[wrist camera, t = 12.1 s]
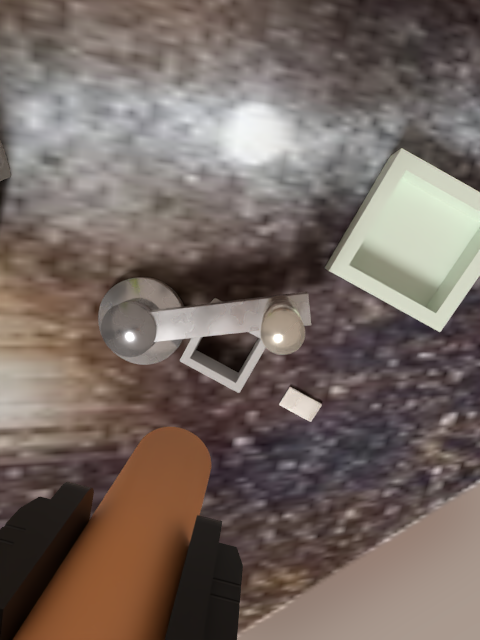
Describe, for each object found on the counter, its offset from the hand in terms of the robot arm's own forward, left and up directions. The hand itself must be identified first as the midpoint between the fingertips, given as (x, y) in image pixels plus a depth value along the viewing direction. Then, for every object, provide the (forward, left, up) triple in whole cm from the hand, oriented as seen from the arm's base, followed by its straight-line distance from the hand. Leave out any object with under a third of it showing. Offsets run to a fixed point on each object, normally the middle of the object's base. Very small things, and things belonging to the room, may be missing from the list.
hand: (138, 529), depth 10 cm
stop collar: (0, 0, -21) cm, 21 cm away
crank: (+1, +2, -20) cm, 20 cm away
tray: (+13, -8, -21) cm, 26 cm away
